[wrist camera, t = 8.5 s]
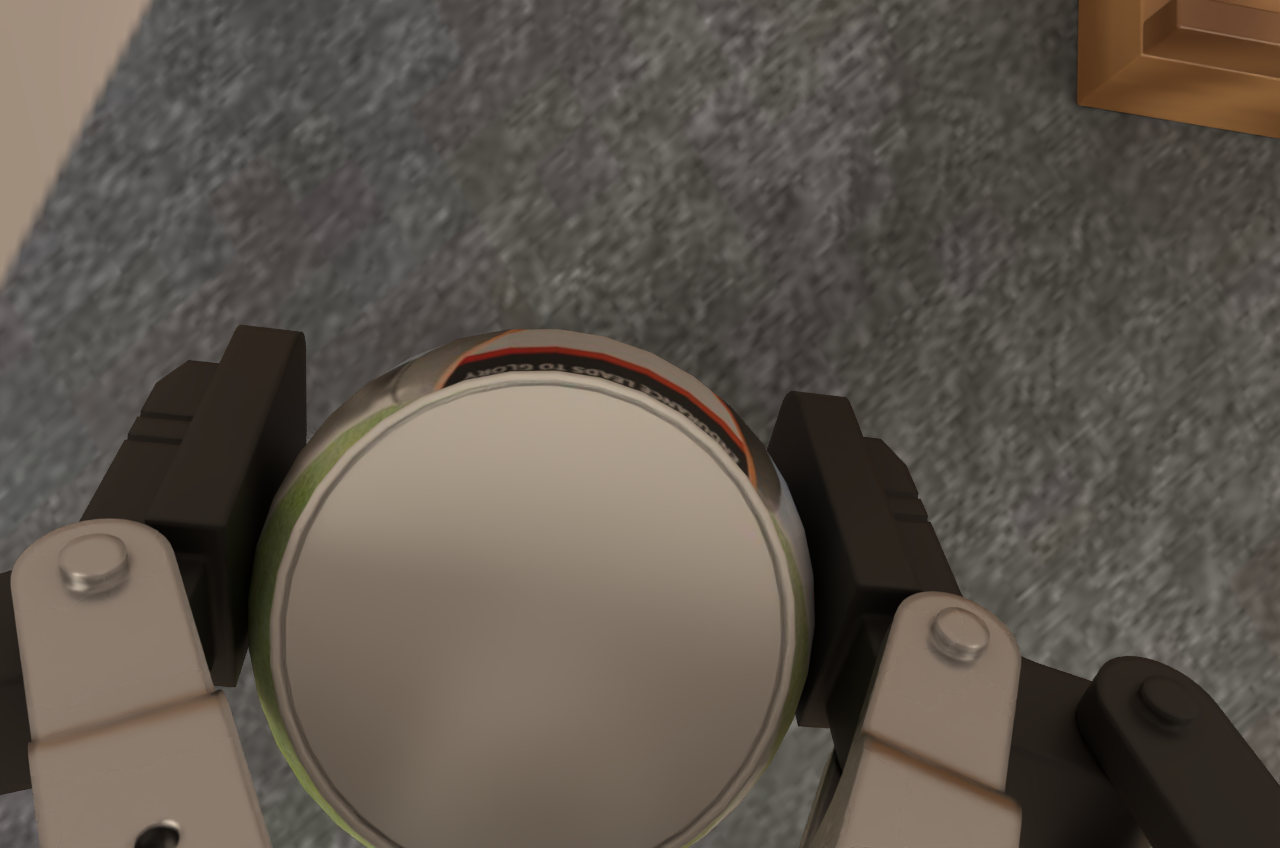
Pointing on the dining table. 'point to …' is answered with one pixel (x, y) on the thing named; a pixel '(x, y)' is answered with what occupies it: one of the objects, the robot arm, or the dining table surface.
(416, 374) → the beverage can
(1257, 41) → the wooden step stand
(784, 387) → the dining table surface
